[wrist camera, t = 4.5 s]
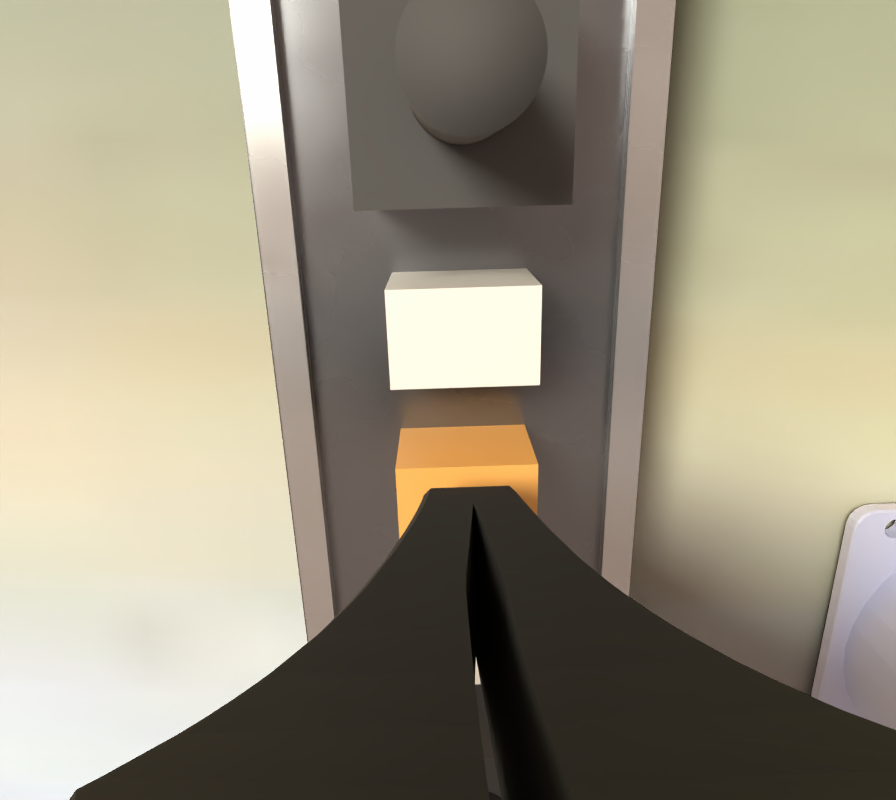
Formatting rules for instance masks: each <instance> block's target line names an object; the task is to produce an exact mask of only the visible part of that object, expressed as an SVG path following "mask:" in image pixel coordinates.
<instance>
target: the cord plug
mask: <svg viewBox="0 0 896 800" xmlns="http://www.w3.org/2000/svg"><path fill="white" fill-rule="evenodd" d="M338 1H339V15H340V28H341V42H342V56H343V69H344V83H345V96H346V110H347V124H348V137H349V151H350V164H351V178H352V192H353V205H354V211H373V210H407V209H441V208H474V207H508V206H541V205H573V177H574V149H575V121H576V93H577V64H578V36H579V8H580V0H338Z"/></svg>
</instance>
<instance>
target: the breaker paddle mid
mask: <svg viewBox="0 0 896 800" xmlns="http://www.w3.org/2000/svg"><path fill="white" fill-rule="evenodd" d="M395 473H396V489H397V506H398V522H399V539H400V538H401V536H402V535H403V533H404V532H405V530H406V529H407V527H408V525H409V523H410V522H411V520H412V518H413V517H414V515H415V513H416V511H417V509H418V507H419V505H420V503H421V501H422V499H423V496H424V494H425V493H426V492H427V491H428V490H429V489H431V488H451V487H481V486H510V487H511V488H512V489H513V490H515V491H516V492H517V494H518V495H519V496H520V497H521V498H522V499H523V500H524V502H525V503H526V504H527V505H528V506H529V507H530V508H531V509H532V511H533V512H534V513H535V514H536V515H537V504H538V462H537V459H536V456H535V453H534V450H533V448H532V445H531V442H530V439H529V436H528V433H527V430H526V427H525V425H494V426H463V427H432V428H401V430H400V438H399V445H398V453H397V460H396V467H395Z"/></svg>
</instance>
